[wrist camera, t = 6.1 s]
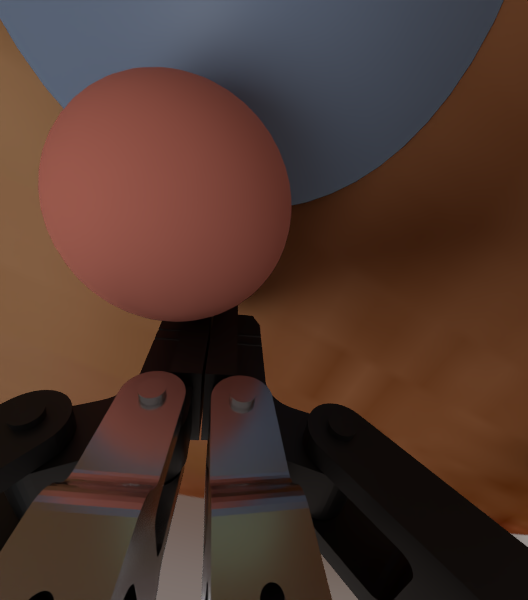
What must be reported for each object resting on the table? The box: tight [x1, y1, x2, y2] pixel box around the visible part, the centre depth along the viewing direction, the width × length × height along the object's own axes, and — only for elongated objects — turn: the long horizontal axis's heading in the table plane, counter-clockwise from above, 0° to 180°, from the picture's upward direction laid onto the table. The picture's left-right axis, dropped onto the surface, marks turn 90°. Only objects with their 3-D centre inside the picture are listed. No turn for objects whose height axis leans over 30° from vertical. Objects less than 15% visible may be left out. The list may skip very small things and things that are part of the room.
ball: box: [38, 67, 291, 322], centre depth 7 cm, size 6×6×6 cm
